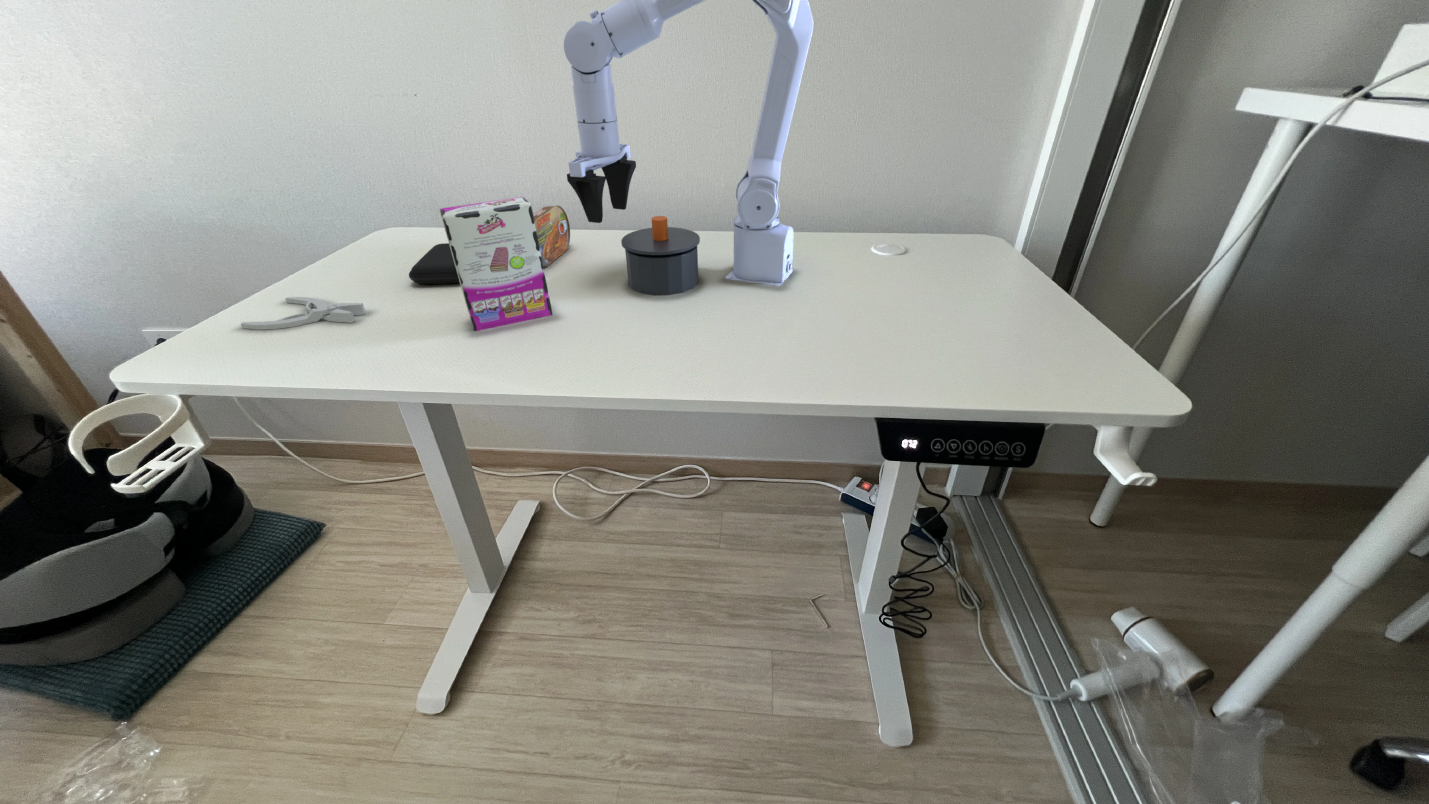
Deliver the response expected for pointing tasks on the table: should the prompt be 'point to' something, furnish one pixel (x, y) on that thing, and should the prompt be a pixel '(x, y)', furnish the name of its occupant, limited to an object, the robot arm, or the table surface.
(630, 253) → the dark grey pot
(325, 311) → the pliers
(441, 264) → the carrying case
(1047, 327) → the table surface
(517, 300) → the candy bar box
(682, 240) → the lid
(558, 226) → the tin
